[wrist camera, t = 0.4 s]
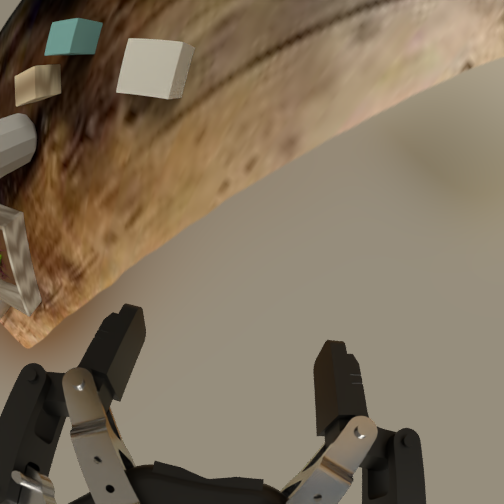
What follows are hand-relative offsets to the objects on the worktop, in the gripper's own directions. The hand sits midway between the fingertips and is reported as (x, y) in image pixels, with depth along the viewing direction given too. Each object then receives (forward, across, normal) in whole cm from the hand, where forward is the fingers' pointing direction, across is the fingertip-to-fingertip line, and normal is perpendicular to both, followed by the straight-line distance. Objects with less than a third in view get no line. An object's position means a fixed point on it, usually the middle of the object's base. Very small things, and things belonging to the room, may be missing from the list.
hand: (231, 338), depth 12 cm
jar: (+28, +42, -2) cm, 51 cm away
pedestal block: (+28, +14, -11) cm, 34 cm away
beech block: (+28, +35, -11) cm, 46 cm away
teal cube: (+28, +28, -17) cm, 43 cm away
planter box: (+28, +59, +24) cm, 70 cm away
